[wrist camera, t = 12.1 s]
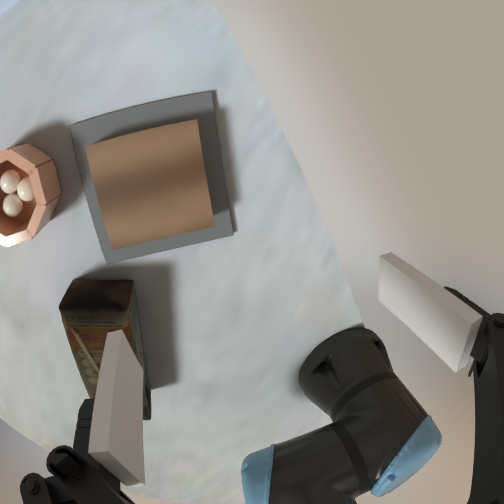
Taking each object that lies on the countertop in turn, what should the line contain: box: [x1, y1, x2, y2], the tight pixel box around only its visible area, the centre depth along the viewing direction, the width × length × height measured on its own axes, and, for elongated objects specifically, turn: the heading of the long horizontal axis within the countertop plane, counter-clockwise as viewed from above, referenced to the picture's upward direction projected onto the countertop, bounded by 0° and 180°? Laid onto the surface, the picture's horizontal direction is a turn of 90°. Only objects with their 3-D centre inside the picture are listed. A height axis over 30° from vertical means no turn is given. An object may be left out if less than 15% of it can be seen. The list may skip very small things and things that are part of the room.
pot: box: [0, 143, 61, 247], centre depth 23 cm, size 9×9×5 cm
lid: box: [85, 119, 215, 250], centre depth 27 cm, size 10×10×3 cm
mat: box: [70, 92, 233, 264], centre depth 29 cm, size 15×14×1 cm
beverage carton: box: [59, 279, 151, 420], centre depth 33 cm, size 8×19×7 cm, turn 175°
